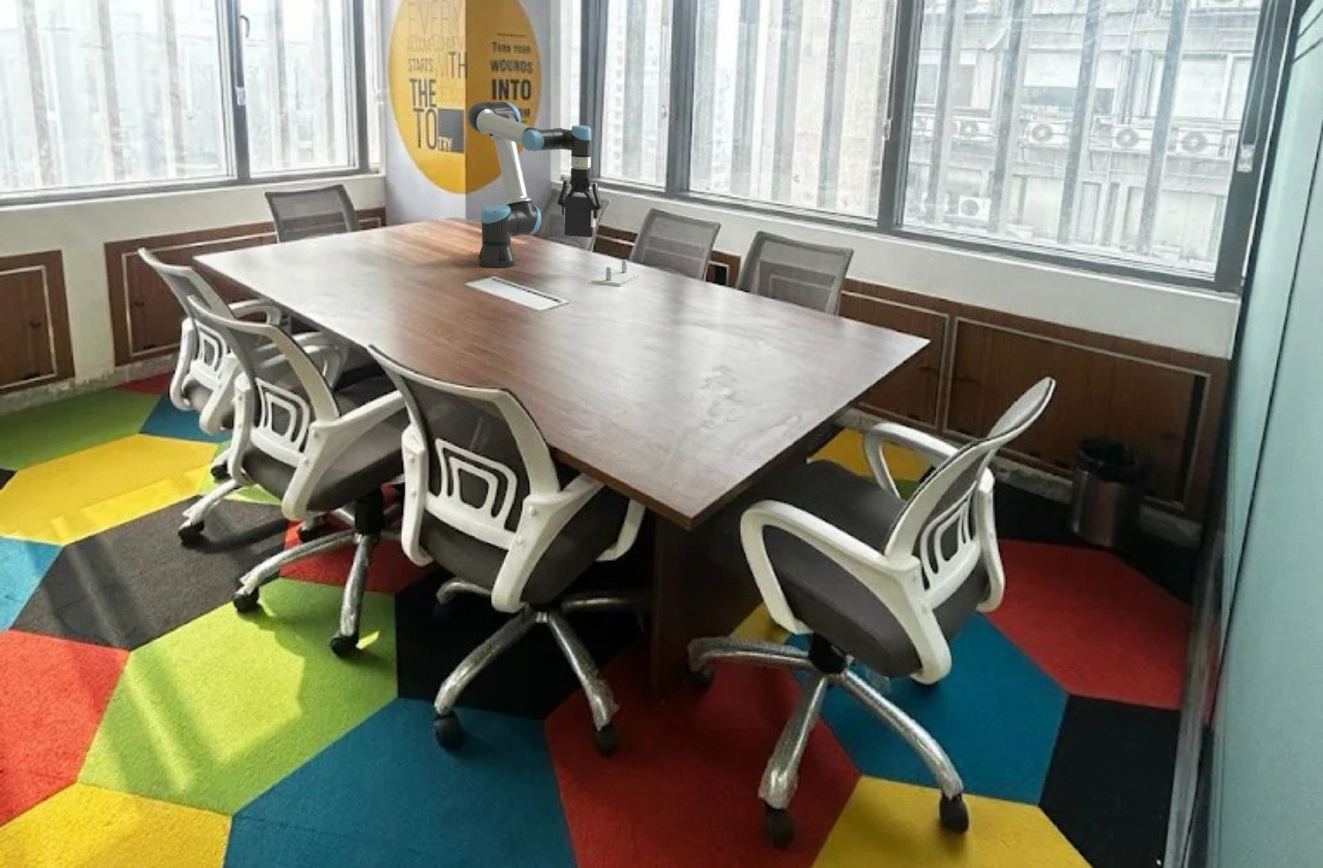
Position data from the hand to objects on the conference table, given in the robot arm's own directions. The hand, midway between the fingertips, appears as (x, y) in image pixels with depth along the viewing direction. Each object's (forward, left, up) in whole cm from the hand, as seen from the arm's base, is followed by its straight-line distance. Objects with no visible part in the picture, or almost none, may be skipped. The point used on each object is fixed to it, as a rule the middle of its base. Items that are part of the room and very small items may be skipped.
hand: (579, 225), depth 377 cm
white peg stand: (+16, 0, -20) cm, 25 cm away
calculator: (0, 0, -4) cm, 4 cm away
